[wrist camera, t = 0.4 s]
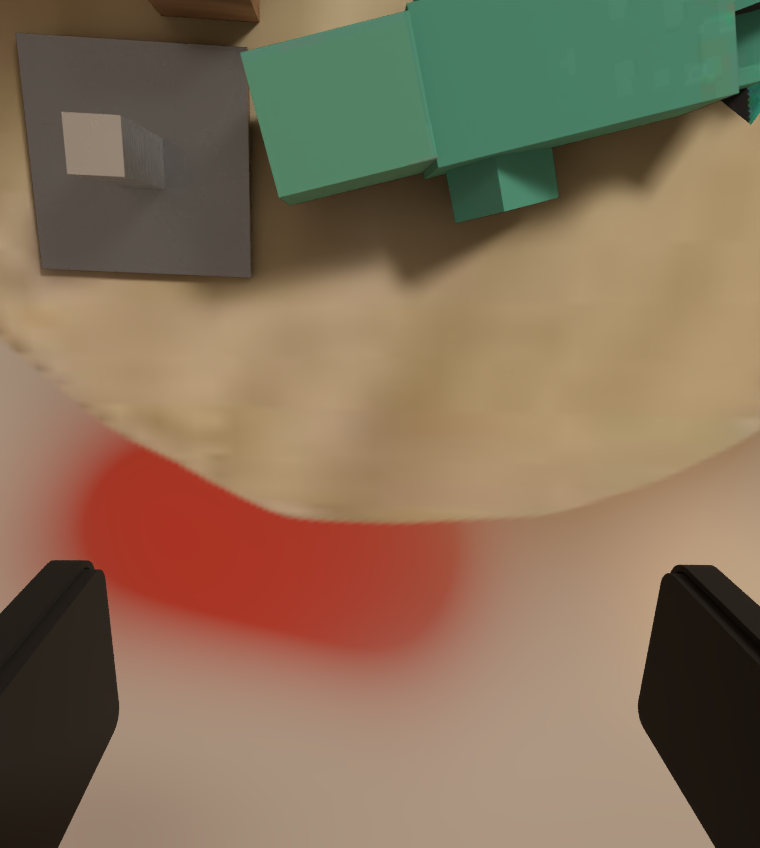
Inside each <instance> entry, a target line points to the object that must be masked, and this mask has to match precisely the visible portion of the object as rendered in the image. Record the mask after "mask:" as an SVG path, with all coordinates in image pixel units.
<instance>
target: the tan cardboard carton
mask: <svg viewBox="0 0 760 848" xmlns="http://www.w3.org/2000/svg"><path fill="white" fill-rule="evenodd" d="M149 2H150V3H151V4H152V5H153V6H154V8H155V9H156V10H157V11H158V12H159V14H160V15H161V16H174V17H189V18H204V19H219V20H234V21H249V22H259V0H149Z"/></svg>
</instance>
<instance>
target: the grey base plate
mask: <svg viewBox="0 0 760 848" xmlns="http://www.w3.org/2000/svg"><path fill="white" fill-rule="evenodd" d="M16 41H17V50H18V59H19V68H20V77H21V86H22V95H23V103H24V112H25V121H26V130H27V139H28V148H29V157H30V166H31V175H32V184H33V193H34V202H35V210H36V219H37V228H38V237H39V246H40V255H41V264H42V269H61V270H85V271H108V272H132V273H156V274H179V275H203V276H226V277H250V278H251V277H252V229H251V166H250V102H249V84H248V81H247V77H246V73H245V69H244V66H243V62H242V58H241V54H240V53H241V52H245V51H248V49H247V47H232V46H216V45H200V44H184V43H169V42H153V41H137V40H122V39H106V38H90V37H75V36H59V35H43V34H28V33H16Z"/></svg>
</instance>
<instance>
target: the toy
mask: <svg viewBox="0 0 760 848" xmlns="http://www.w3.org/2000/svg"><path fill="white" fill-rule="evenodd" d="M413 1H414V2H410V3H407V5H406V9H405V11H403V12H399V13H395V14H392V15H388V16H384V17H380V18H376V19H372V20H368V21H364V22H360V23H356V24H352V25H348V26H344V27H340V28H336V29H332V30H328V31H324V32H320V33H316V34H312V35H308V36H304V37H301V38H297V39H293V40H289V41H285V42H281V43H277V44H273V45H269V46H265V47H261V48H257V49H253V50H249V51H245V52H241V53H240V54H241V58H242V62H243V66H244V69H245V73H246V77H247V81H248V84H249V88H250V92H251V96H252V99H253V103H254V107H255V110H256V114H257V118H258V122H259V125H260V129H261V133H262V137H263V140H264V144H265V148H266V152H267V155H268V159H269V163H270V166H271V170H272V174H273V178H274V181H275V185H276V189H277V193H278V196H279V198H280V199H282V200H283V201H285V202H286V203H287V204H289V205H290V206H291V205H295V204H299V203H303V202H307V201H311V200H315V199H319V198H323V197H327V196H331V195H335V194H339V193H343V192H347V191H351V190H355V189H359V188H363V187H367V186H371V185H375V184H379V183H383V182H387V181H391V180H395V179H399V178H403V177H407V176H411V175H415V174H419V173H422V172H423V175H424V179H427V178H431V177H435V176H439V175H443V174H446V176H447V182H448V187H449V192H450V197H451V203H452V208H453V213H454V219H455V223H459V222H463V221H467V220H471V219H476V218H480V217H484V216H488V215H492V214H497V213H501V212H505V211H509V210H513V209H516V208H520V207H524V206H528V205H532V204H536V203H539V202H543V201H547V200H551V199H555V198H558V197H559V195H558V188H557V181H556V173H555V166H554V159H553V152H552V147H556V146H560V145H564V144H568V143H572V142H576V141H580V140H584V139H588V138H592V137H596V136H601V135H605V134H609V133H613V132H617V131H621V130H625V129H629V128H633V127H637V126H641V125H645V124H649V123H653V122H657V121H661V120H665V119H669V118H673V117H677V116H680V115H683V114H686V113H688V112H691V111H693V110H696V109H699V108H701V107H704V106H706V105H709V104H712V103H714V102H717V101H719V100H721V101H722V102H723V103H725V104H726V105H727V106H728V107H730V108H731V109H732V110H733V111H735V112H736V113H737V114H738V115H740V116H741V117H742V118H743V119H745V120H746V121H747V122H748V123H750V124H752V123H753V121H754V120H755V118H756V117H757V116H758V114H759V113H760V0H413Z"/></svg>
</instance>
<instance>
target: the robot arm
mask: <svg viewBox="0 0 760 848" xmlns="http://www.w3.org/2000/svg"><path fill="white" fill-rule="evenodd" d="M638 713H639V718H640V721H641V724H642V726H643V728H644V729H645V731H646V733H647V734H648V736H649V738H650V740H651V741H652V743H653V744H654V746H655V748H656V749H657V751H658V753H659V754H660V756H661V758H662V759H663V761H664V763H665V764H666V766H667V768H668V769H669V771H670V773H671V775H672V776H673V778H674V780H675V781H676V783H677V784H678V786H679V788H680V789H681V791H682V793H683V795H684V796H685V798H686V799H687V801H688V803H689V804H690V806H691V807H692V809H693V811H694V813H695V814H696V816H697V818H698V819H699V821H700V823H701V824H702V826H703V828H704V829H705V831H706V833H707V834H708V836H709V838H710V839H711V841H712V843H713V844H714V846H715V848H760V606H759V605H758V604H756V603H755V602H754V601H753V600H752V599H751V598H750V597H749V596H748V595H746V594H745V593H744V592H743V591H742V590H741V589H740V588H739V587H737V586H736V585H735V584H734V583H733V582H732V581H731V580H730V579H728V578H727V577H726V576H725V575H724V574H723V573H722V572H720V571H719V570H718V569H717V568H716V567H714V566H712V565H677V566H675V567H674V568H673V569H672V571H671V573H667V574H665V575H664V577H663V578H662V581H661V585H660V590H659V595H658V601H657V606H656V611H655V616H654V622H653V627H652V632H651V637H650V643H649V648H648V653H647V658H646V664H645V669H644V674H643V679H642V685H641V690H640V695H639V700H638ZM118 715H119V700H118V691H117V682H116V673H115V664H114V654H113V645H112V636H111V627H110V617H109V609H108V600H107V590H106V581H105V575H104V573H103V571H102V570H94V566H93V564H92V563H91V562H90V561H83V560H82V561H81V560H54V561H50V562H49V563H48V564H47V565H46V566H45V567H44V568H43V569H42V570H41V571H40V572H39V573H38V574H37V575H36V576H35V577H34V578H33V579H32V580H31V581H30V583H29V584H28V585H27V586H26V587H25V588H24V589H23V590H22V591H21V592H20V593H19V594H18V595H17V596H16V597H15V598H14V600H13V601H12V602H11V603H10V604H9V605H8V606H7V607H6V608H5V609H4V610H3V611H2V612H1V613H0V848H58V846H59V844H60V842H61V840H62V838H63V836H64V834H65V832H66V830H67V828H68V826H69V824H70V822H71V820H72V818H73V815H74V813H75V811H76V809H77V807H78V805H79V803H80V801H81V799H82V797H83V795H84V793H85V791H86V789H87V786H88V784H89V782H90V780H91V778H92V776H93V774H94V772H95V770H96V768H97V766H98V764H99V762H100V760H101V758H102V755H103V753H104V751H105V749H106V747H107V745H108V743H109V741H110V739H111V737H112V735H113V733H114V730H115V728H116V724H117V721H118Z"/></svg>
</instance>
